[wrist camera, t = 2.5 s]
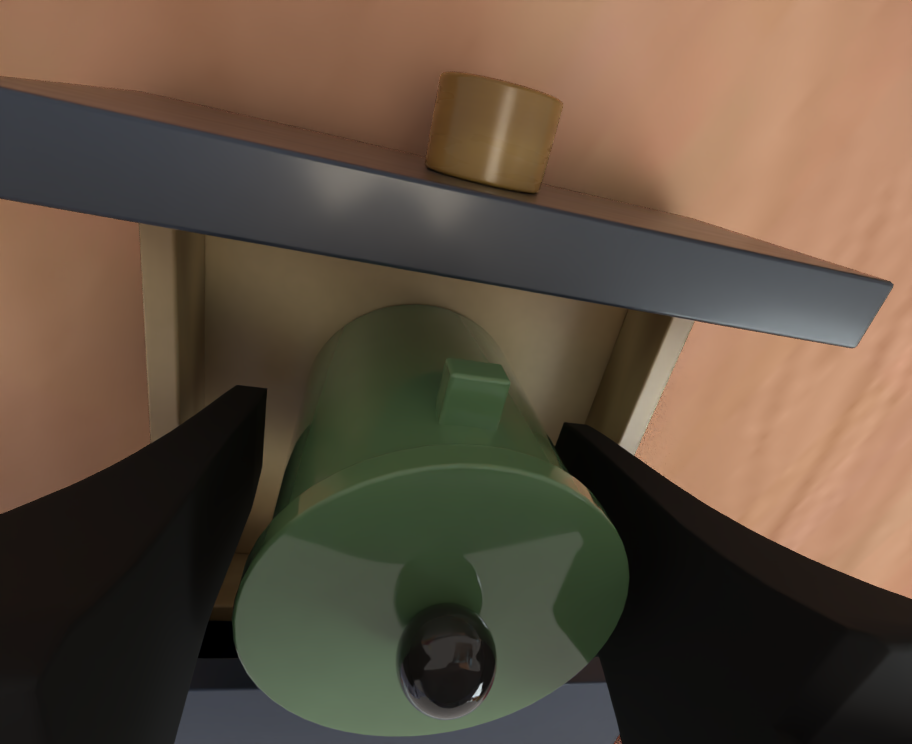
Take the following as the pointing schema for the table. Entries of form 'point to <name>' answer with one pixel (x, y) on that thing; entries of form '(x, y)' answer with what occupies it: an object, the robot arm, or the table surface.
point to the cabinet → (298, 740)
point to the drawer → (398, 254)
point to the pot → (423, 541)
